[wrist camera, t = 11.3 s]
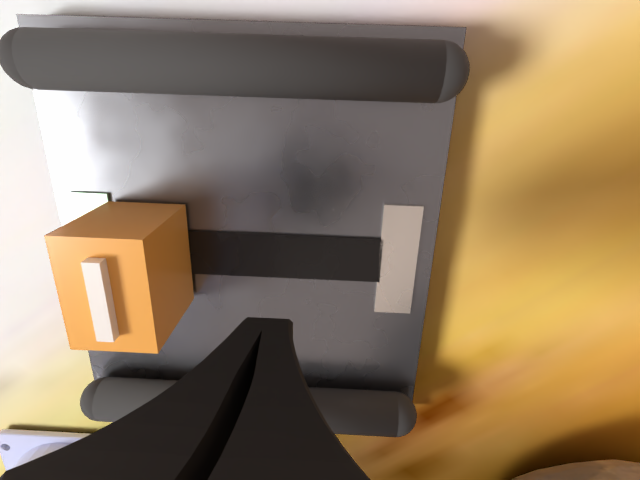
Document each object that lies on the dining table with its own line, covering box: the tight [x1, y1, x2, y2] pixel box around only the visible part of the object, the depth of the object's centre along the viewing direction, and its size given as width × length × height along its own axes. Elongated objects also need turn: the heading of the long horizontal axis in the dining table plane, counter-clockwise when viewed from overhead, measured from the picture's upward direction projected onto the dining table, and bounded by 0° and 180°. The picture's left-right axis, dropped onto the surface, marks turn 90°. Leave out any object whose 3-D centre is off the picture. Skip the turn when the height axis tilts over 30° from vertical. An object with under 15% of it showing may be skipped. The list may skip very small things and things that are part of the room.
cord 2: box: [0, 27, 469, 103], centre depth 14 cm, size 2×16×2 cm, turn 89°
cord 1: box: [80, 377, 417, 437], centre depth 20 cm, size 2×16×2 cm, turn 88°
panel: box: [16, 14, 466, 401], centre depth 18 cm, size 18×16×1 cm
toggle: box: [44, 201, 194, 354], centre depth 16 cm, size 4×3×4 cm
